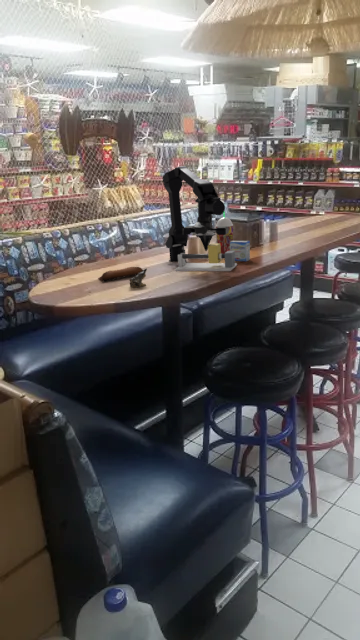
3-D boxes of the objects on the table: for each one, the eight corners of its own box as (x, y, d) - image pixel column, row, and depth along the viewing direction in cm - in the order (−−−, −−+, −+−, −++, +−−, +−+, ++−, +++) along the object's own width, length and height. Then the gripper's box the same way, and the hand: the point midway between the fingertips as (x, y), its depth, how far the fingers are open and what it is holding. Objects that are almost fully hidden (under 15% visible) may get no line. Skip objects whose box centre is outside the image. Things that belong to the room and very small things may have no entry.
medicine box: (230, 261, 231) (229, 241, 229) (233, 259, 235) (233, 240, 232) (246, 261, 228) (246, 242, 225) (250, 259, 231) (249, 240, 229)
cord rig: (175, 270, 220) (174, 254, 218) (184, 264, 230) (183, 249, 228) (230, 271, 211) (229, 254, 209) (237, 265, 222) (236, 249, 220)
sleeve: (208, 263, 217) (207, 245, 215) (212, 260, 222) (211, 243, 219) (217, 263, 216) (217, 245, 214) (221, 260, 220) (220, 243, 218)
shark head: (144, 286, 201) (142, 268, 201) (153, 285, 196) (151, 267, 196) (127, 288, 197) (124, 270, 196) (136, 288, 192) (134, 269, 191)
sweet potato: (136, 272, 222) (137, 260, 217) (142, 282, 218) (144, 270, 213) (96, 278, 214) (97, 266, 210) (101, 290, 210) (103, 277, 206)
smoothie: (234, 254, 245) (233, 211, 239) (217, 255, 246) (215, 213, 239) (233, 251, 253) (232, 210, 247) (216, 252, 253) (214, 211, 247)
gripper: (177, 216, 210) (179, 254, 214) (221, 215, 203) (222, 255, 208) (186, 212, 220) (187, 249, 224) (228, 212, 213) (229, 250, 218)
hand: (206, 250), depth 218 cm, fingers closed
